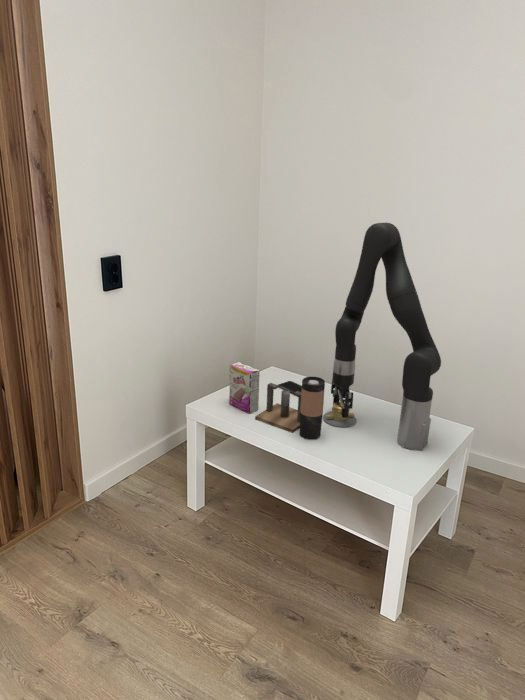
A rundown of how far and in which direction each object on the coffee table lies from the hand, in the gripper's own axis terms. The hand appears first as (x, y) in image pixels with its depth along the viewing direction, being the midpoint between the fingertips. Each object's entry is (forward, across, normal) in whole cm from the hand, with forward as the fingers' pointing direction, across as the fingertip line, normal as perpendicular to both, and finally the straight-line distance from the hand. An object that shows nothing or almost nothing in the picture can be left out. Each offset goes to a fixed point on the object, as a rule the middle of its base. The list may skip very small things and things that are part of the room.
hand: (340, 411), depth 199 cm
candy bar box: (+3, +16, +32) cm, 36 cm away
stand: (+3, +4, +20) cm, 20 cm away
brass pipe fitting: (+3, 0, 0) cm, 3 cm away
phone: (+4, +28, +8) cm, 29 cm away
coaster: (+3, 0, 0) cm, 3 cm away
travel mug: (+3, -8, +14) cm, 17 cm away
